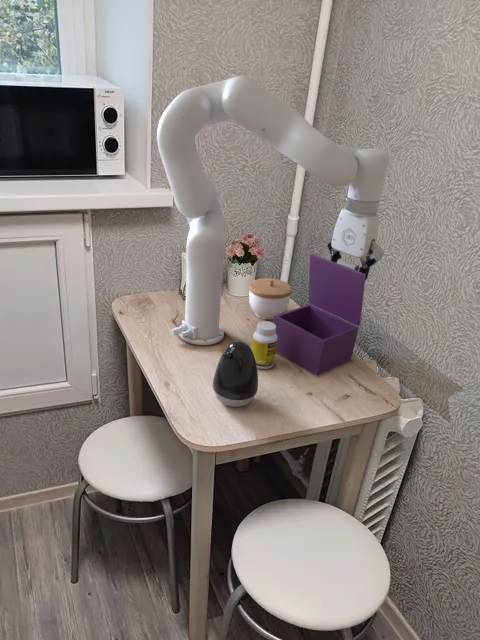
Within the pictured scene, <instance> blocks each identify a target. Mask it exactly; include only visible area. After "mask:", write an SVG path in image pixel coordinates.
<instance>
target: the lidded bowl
mask: <svg viewBox="0 0 480 640" xmlns="http://www.w3.org/2000/svg"><path fill="white" fill-rule="evenodd" d="M292 292H293V287H292V286H291V285H290V284H289V283H288V282H286V281H284V280H282V279H281V280H280V279H276V278H268V277H267V278H266V277H265V278H257V279H255V280H252V281H251V282H250V283H249V285H248V302H249V306H250V308H251V310H252V311H253V312H254V314H255V316H256V317H257V318H259V319H263V320H274V316H277V315H279V314H282V313H285V312H286V311H287V309H288V307H289V305H290V302H291V298H292V294H293V293H292Z"/></svg>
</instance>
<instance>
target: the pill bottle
mask: <svg viewBox="0 0 480 640" xmlns="http://www.w3.org/2000/svg"><path fill="white" fill-rule="evenodd" d="M275 332H276V325H275V324H274V323H273V322H271V321H267V320H264V321H263V320H262V321H259V322H258V323H257V324H256V330H254V332H253V334H252V341H251V347H250V348H251V350H252V352H253V354H254V357H255V361H256V365H257V369H259V370H267V369H271V368H272V367H274V365H275V361H276V354H277V353H276V346H277V340H278V336H277V334H276V333H275Z"/></svg>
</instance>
